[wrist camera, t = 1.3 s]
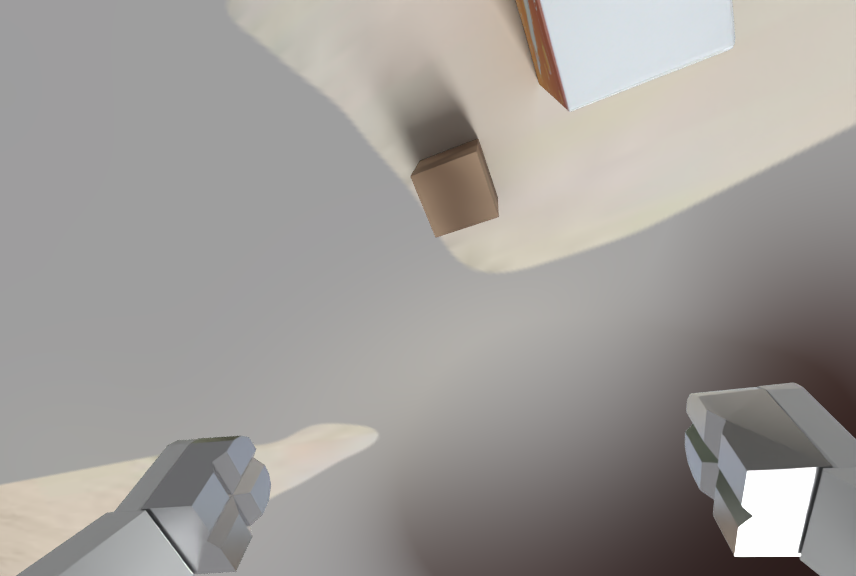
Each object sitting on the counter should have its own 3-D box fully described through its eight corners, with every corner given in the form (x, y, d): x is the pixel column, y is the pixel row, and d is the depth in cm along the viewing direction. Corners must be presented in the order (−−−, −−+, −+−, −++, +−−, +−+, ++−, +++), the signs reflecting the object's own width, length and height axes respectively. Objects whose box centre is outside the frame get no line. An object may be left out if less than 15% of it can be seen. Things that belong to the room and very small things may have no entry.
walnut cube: (478, 138, 31) (476, 151, 27) (497, 196, 33) (498, 216, 29) (419, 160, 32) (410, 176, 29) (441, 215, 34) (435, 237, 30)
